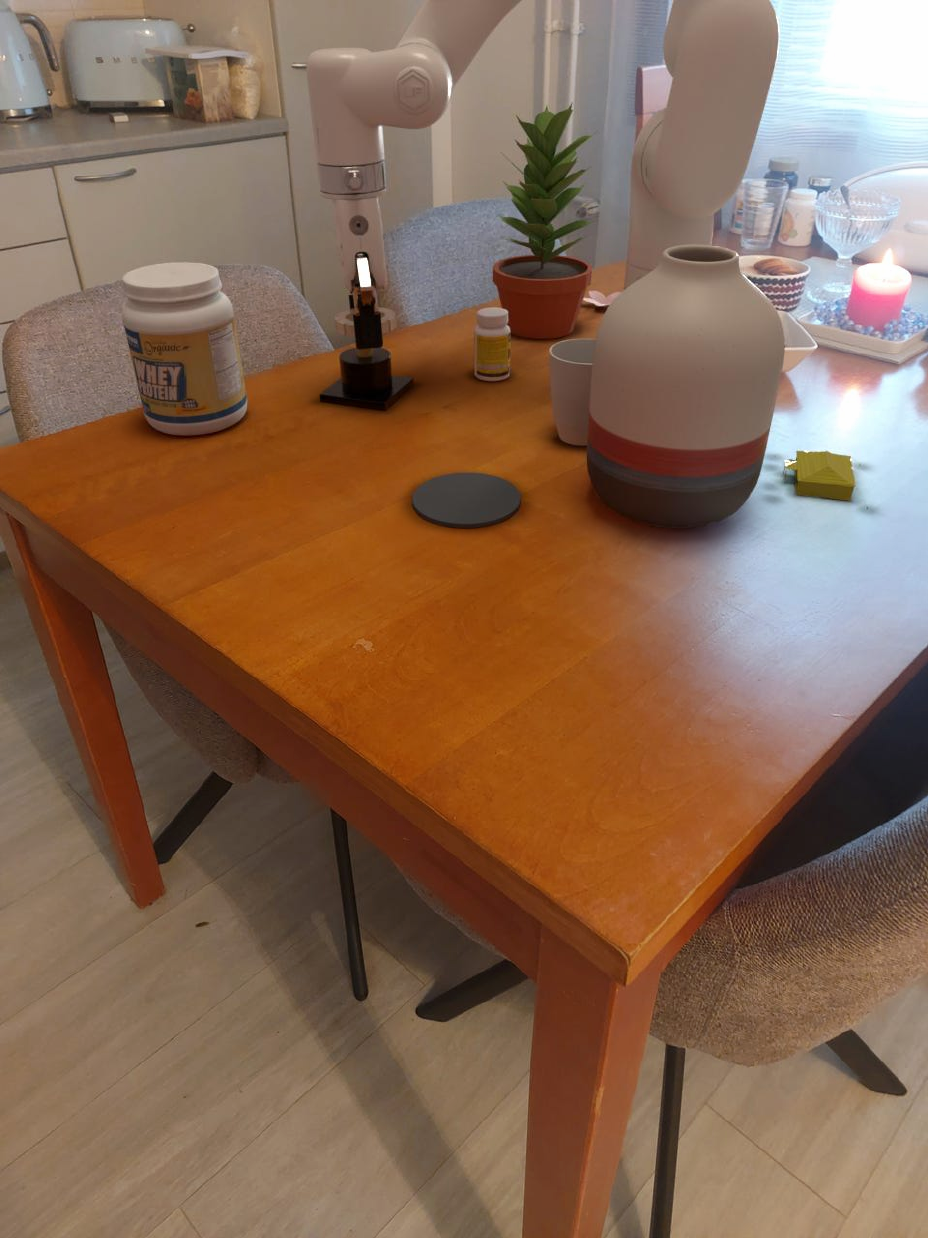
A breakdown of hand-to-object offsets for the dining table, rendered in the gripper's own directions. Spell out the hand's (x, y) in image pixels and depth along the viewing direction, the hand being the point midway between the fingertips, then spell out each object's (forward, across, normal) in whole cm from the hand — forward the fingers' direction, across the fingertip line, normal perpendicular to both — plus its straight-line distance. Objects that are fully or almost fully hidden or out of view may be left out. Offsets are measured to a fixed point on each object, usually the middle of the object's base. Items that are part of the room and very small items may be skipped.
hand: (366, 335), depth 110 cm
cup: (+8, -18, -23) cm, 30 cm away
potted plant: (+8, +21, -27) cm, 35 cm away
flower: (+8, +30, -40) cm, 50 cm away
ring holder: (+7, 0, 0) cm, 7 cm away
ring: (-1, 0, 0) cm, 1 cm away
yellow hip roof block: (+8, -34, -44) cm, 56 cm away
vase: (+8, -34, -27) cm, 44 cm away
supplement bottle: (+8, +3, -16) cm, 18 cm away
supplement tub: (+7, -4, +21) cm, 23 cm away
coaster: (+8, -31, -7) cm, 32 cm away
